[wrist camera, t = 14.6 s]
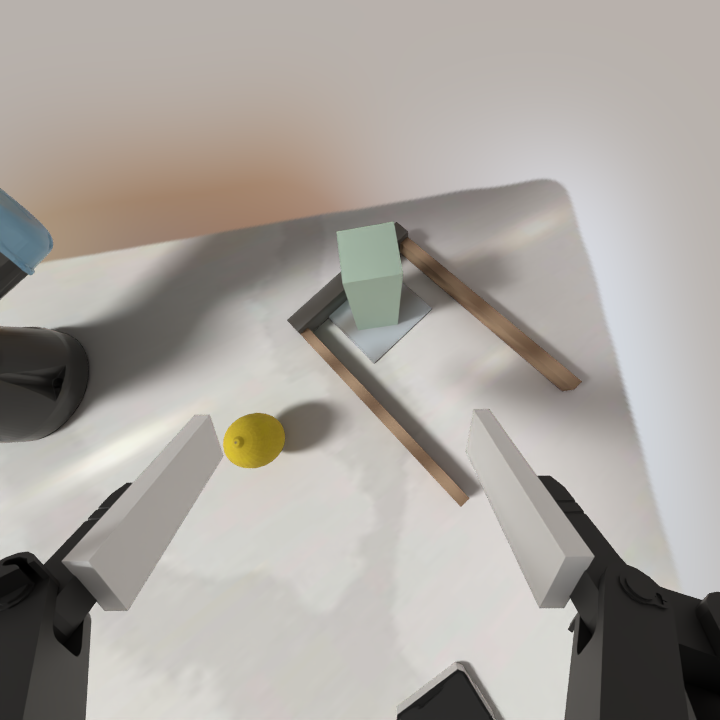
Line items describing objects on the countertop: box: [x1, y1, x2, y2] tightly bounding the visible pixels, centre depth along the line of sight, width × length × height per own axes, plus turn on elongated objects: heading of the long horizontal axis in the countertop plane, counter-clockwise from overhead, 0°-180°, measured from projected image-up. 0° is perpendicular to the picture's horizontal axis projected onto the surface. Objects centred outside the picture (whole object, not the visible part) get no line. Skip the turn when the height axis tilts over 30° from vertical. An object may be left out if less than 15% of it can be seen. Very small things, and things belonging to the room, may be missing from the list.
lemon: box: [223, 413, 285, 468], centre depth 28 cm, size 6×6×8 cm
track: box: [287, 222, 582, 506], centre depth 31 cm, size 28×18×3 cm, turn 43°
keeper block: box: [336, 221, 403, 330], centre depth 28 cm, size 5×5×12 cm
